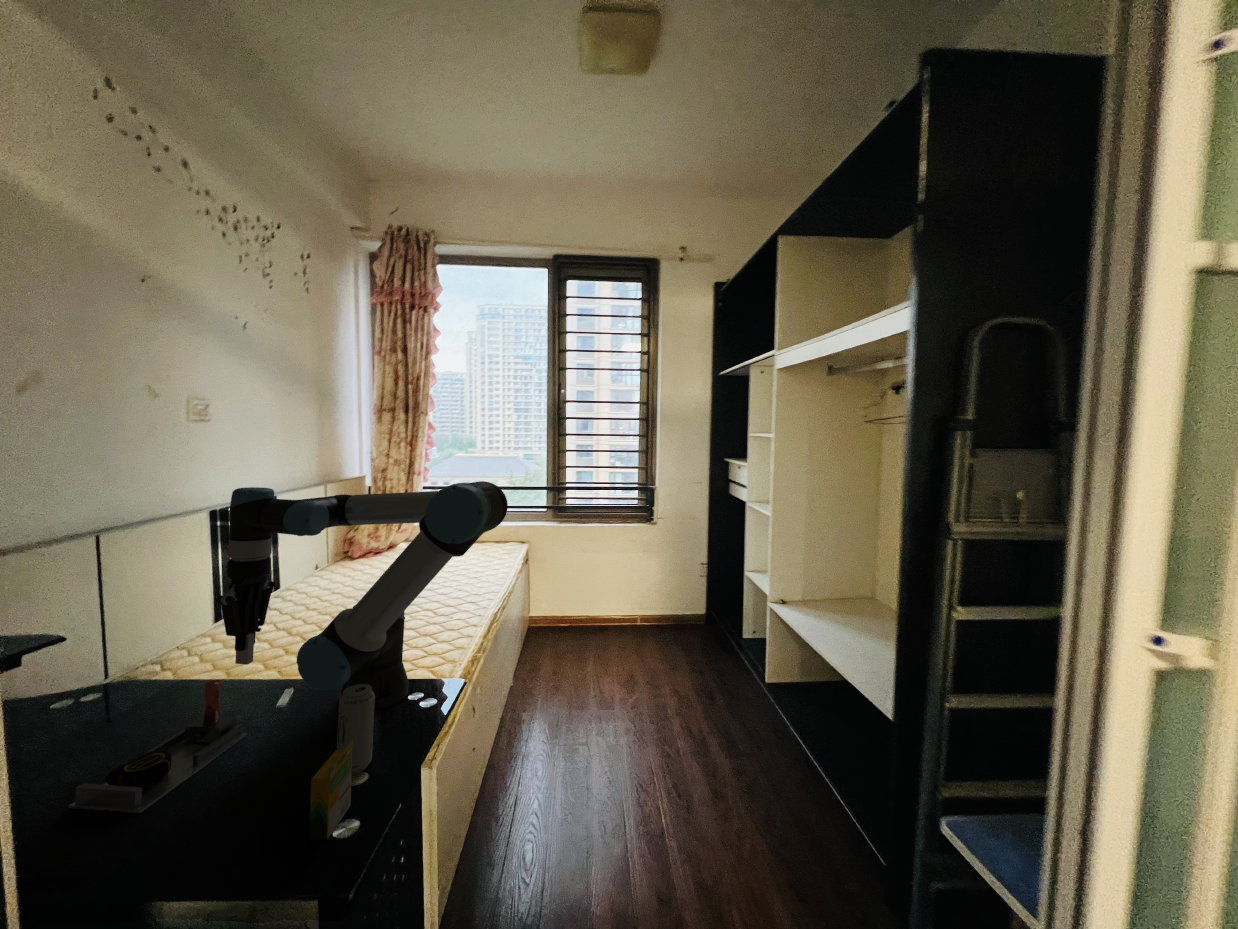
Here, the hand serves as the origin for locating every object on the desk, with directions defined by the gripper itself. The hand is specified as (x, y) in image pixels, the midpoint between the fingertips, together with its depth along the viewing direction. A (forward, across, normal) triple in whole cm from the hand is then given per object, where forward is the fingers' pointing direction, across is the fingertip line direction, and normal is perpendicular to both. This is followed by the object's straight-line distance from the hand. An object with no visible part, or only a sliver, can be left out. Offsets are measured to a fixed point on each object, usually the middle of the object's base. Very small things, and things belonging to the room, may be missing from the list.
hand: (244, 662), depth 102 cm
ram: (+12, +9, 0) cm, 14 cm away
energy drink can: (+12, +13, +34) cm, 38 cm away
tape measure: (+12, +21, 0) cm, 24 cm away
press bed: (+12, +16, 0) cm, 21 cm away
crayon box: (+12, +26, +38) cm, 47 cm away
